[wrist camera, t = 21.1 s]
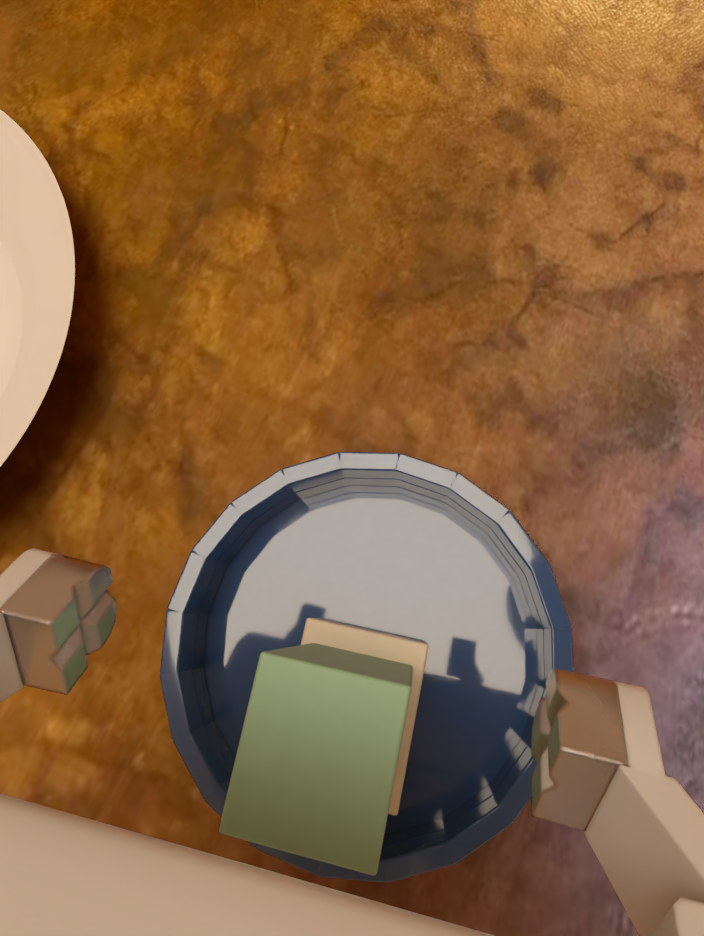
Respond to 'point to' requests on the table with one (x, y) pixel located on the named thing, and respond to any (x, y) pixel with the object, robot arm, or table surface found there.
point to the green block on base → (326, 744)
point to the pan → (385, 610)
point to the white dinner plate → (30, 280)
